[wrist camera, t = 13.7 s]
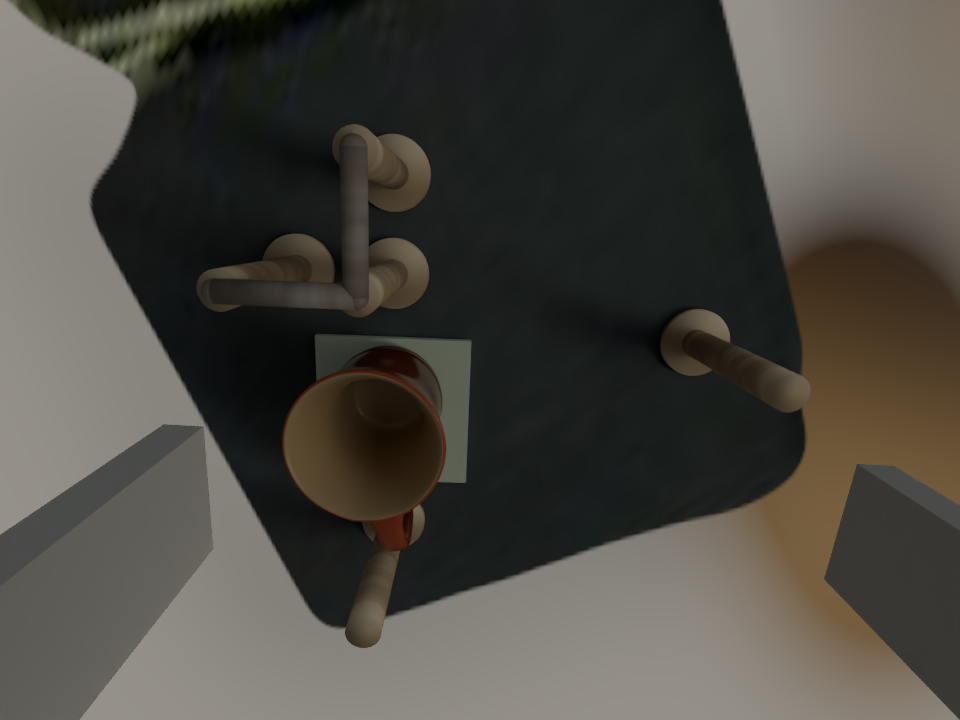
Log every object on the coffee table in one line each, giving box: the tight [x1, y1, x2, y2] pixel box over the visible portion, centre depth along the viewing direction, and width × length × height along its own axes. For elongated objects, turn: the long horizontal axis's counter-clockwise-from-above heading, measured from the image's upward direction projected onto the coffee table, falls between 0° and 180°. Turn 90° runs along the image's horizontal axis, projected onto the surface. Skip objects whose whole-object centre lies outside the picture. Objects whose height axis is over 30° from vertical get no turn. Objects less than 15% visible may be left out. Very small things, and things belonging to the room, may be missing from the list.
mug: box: [282, 345, 446, 552], centre depth 33 cm, size 12×9×10 cm
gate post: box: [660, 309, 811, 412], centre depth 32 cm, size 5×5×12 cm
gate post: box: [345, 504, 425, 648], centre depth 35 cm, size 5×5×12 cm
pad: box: [315, 334, 471, 483], centre depth 38 cm, size 11×11×1 cm
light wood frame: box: [197, 124, 431, 317], centre depth 29 cm, size 11×11×13 cm
